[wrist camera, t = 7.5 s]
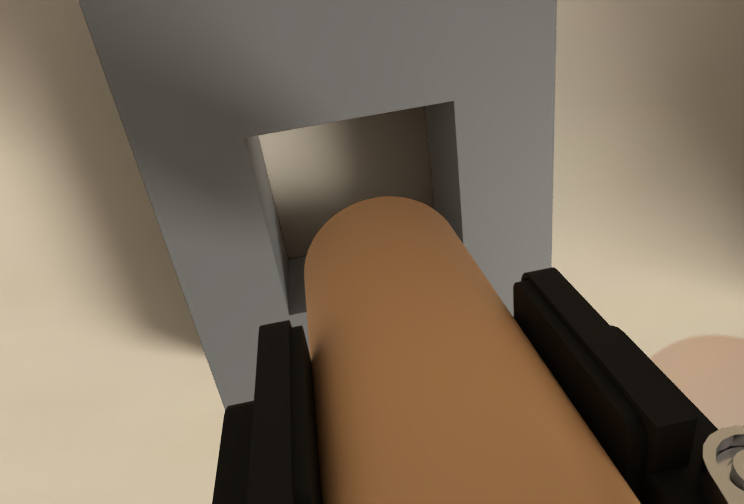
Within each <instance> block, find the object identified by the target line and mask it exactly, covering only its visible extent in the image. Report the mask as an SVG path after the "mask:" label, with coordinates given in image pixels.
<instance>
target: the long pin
mask: <svg viewBox="0 0 744 504" xmlns="http://www.w3.org/2000/svg"><path fill="white" fill-rule="evenodd" d="M304 281H305V295H306V309H307V323H308V337H309V351H310V358H311V362H312V374H313V387H314V401H315V414H316V427H317V440H318V454H319V467H320V480H321V494H322V504H641V503H640V502H639V500H638V499H637V497H636V496H635V494H634V493H633V491H632V490H631V488H630V487H629V485H628V484H627V483H626V481H625V480H624V478H623V477H622V475H621V474H620V472H619V471H618V469H617V468H616V466H615V465H614V464H613V462H612V461H611V459H610V458H609V456H608V455H607V453H606V452H605V450H604V449H603V448H602V446H601V445H600V443H599V442H598V440H597V439H596V437H595V436H594V434H593V433H592V431H591V430H590V429H589V427H588V426H587V424H586V423H585V421H584V420H583V418H582V417H581V415H580V414H579V412H578V411H577V410H576V408H575V407H574V405H573V404H572V402H571V401H570V399H569V398H568V396H567V395H566V393H565V392H564V391H563V389H562V388H561V386H560V385H559V383H558V382H557V380H556V379H555V377H554V376H553V374H552V373H551V372H550V370H549V369H548V367H547V366H546V364H545V363H544V361H543V360H542V358H541V357H540V355H539V354H538V353H537V351H536V350H535V348H534V347H533V345H532V344H531V342H530V341H529V339H528V338H527V337H526V335H525V334H524V332H523V331H522V329H521V328H520V326H519V325H518V323H517V322H516V320H515V319H514V318H513V316H512V315H511V313H510V312H509V310H508V309H507V307H506V306H505V304H504V303H503V301H502V300H501V299H500V297H499V296H498V294H497V293H496V291H495V290H494V288H493V287H492V285H491V284H490V282H489V281H488V280H487V278H486V277H485V275H484V274H483V272H482V271H481V269H480V268H479V266H478V265H477V263H476V262H475V261H474V259H473V258H472V256H471V255H470V253H469V252H468V250H467V249H466V247H465V246H464V245H463V243H462V242H461V240H460V239H459V237H458V236H457V234H456V233H455V231H454V230H453V228H452V227H451V226H450V224H449V223H448V221H447V220H446V219H445V218H444V217H443V216H442V215H441V214H439V213H438V212H437V211H436V210H434V209H433V208H431V207H429V206H428V205H426V204H424V203H421V202H419V201H416V200H413V199H409V198H404V197H397V196H383V197H375V198H370V199H366V200H362V201H360V202H357V203H355V204H352V205H350V206H348V207H346V208H344V209H343V210H341V211H340V212H338V213H337V214H335V215H334V216H333V217H332V218H331V219H329V220H328V221H327V222H326V223H325V224H324V225H323V227H322V228H321V229H320V230H319V231H318V233H317V234H316V236H315V237H314V239H313V241H312V243H311V245H310V247H309V249H308V253H307V256H306V260H305V266H304Z"/></svg>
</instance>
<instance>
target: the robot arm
mask: <svg viewBox="0 0 744 504" xmlns="http://www.w3.org/2000/svg"><path fill="white" fill-rule="evenodd" d="M513 310H514V319H515V320H516V322H517V323H518V325H519V326H520V328H521V329H522V331H523V332H524V334H525V335H526V337H527V338H528V339H529V341H530V342H531V344H532V345H533V347H534V348H535V350H536V351H537V353H538V354H539V355H540V357H541V358H542V360H543V361H544V363H545V364H546V366H547V367H548V369H549V370H550V372H551V373H552V374H553V376H554V377H555V379H556V380H557V382H558V383H559V385H560V386H561V388H562V389H563V391H564V392H565V393H566V395H567V396H568V398H569V399H570V401H571V402H572V404H573V405H574V407H575V408H576V410H577V411H578V412H579V414H580V415H581V417H582V418H583V420H584V421H585V423H586V424H587V426H588V427H589V429H590V430H591V431H592V433H593V434H594V436H595V437H596V439H597V440H598V442H599V443H600V445H601V446H602V448H603V449H604V450H605V452H606V453H607V455H608V456H609V458H610V459H611V461H612V462H613V464H614V465H615V466H616V468H617V469H618V471H619V472H620V474H621V475H622V477H623V478H624V480H625V481H626V483H627V484H628V485H629V487H630V488H631V490H632V491H633V493H634V494H635V496H636V497H637V499H638V500H639V502H640V503H641V504H744V426H731V427H726V428H721V429H719V430H718V429H717V428H716V427H715V426H714V425H713V424H712V423H711V422H710V421H709V419H708V418H707V417H706V416H705V415H704V414H703V413H702V412H701V411H700V410H699V409H698V408H697V407H696V406H695V405H694V404H693V403H692V402H691V401H690V400H689V399H688V398H687V397H686V396H685V395H684V394H683V393H682V392H681V391H680V390H679V389H678V388H677V386H676V385H675V384H674V383H672V381H671V380H670V379H669V378H668V377H667V376H666V375H665V374H664V373H663V372H662V371H661V370H660V369H659V368H658V367H657V366H656V365H655V364H654V363H653V362H652V361H651V360H650V359H649V358H648V357H647V355H646V354H645V353H644V352H643V351H642V350H641V349H640V348H639V347H638V346H637V345H636V344H635V343H634V342H633V341H632V340H631V339H630V338H629V337H628V336H627V335H626V334H625V333H624V332H623V331H622V330H621V329H619V328H618V327H615V326H610V325H609V324H608V323H607V322H606V321H605V320H604V319H603V318H602V317H601V316H600V315H599V313H598V312H597V311H596V310H595V309H594V308H593V307H592V306H591V305H590V304H589V303H588V302H587V301H586V300H585V299H584V298H583V297H582V296H581V294H580V293H579V292H578V291H577V290H576V289H575V288H574V287H573V286H572V285H571V284H570V283H569V282H568V281H567V280H566V279H565V278H564V277H563V275H562V274H561V273H560V272H559V271H558V270H557V269H555V268H552V267H551V268H546V269H541V270H536V271H531V272H526V273H524V274H523V275H522V278H521V281H520V282H515V283H514V286H513ZM212 504H322V494H321V480H320V467H319V454H318V440H317V427H316V414H315V401H314V387H313V374H312V362H311V358H310V354H309V349H308V345H307V341H306V337H305V333H304V329H303V326H302V325H301V326H296V327H292V325H291V322H290V320H286V321H281V322H276V323H271V324H266V325H261V326H259V334H258V349H257V363H256V378H255V392H254V401H249V402H244V403H240V404H235V405H230V406H228V407H227V408H226V410H225V414H224V420H223V428H222V435H221V443H220V450H219V457H218V465H217V472H216V480H215V487H214V494H213V502H212Z"/></svg>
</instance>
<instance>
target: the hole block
mask: <svg viewBox="0 0 744 504" xmlns="http://www.w3.org/2000/svg"><path fill="white" fill-rule="evenodd" d="M79 3H80V6H81V9H82V12H83V14H84V17H85V20H86V23H87V26H88V28H89V31H90V34H91V37H92V40H93V42H94V45H95V48H96V51H97V54H98V56H99V59H100V62H101V65H102V67H103V70H104V73H105V76H106V79H107V81H108V84H109V87H110V90H111V93H112V95H113V98H114V101H115V104H116V107H117V109H118V112H119V115H120V118H121V121H122V123H123V126H124V129H125V132H126V135H127V137H128V140H129V143H130V146H131V148H132V151H133V154H134V157H135V160H136V162H137V165H138V168H139V171H140V174H141V176H142V179H143V182H144V185H145V188H146V190H147V193H148V196H149V199H150V202H151V204H152V207H153V210H154V213H155V215H156V218H157V221H158V224H159V227H160V229H161V232H162V235H163V238H164V241H165V243H166V246H167V249H168V252H169V255H170V257H171V260H172V263H173V266H174V269H175V271H176V274H177V277H178V280H179V282H180V285H181V288H182V291H183V294H184V296H185V299H186V302H187V305H188V308H189V310H190V313H191V316H192V319H193V322H194V324H195V327H196V330H197V333H198V336H199V338H200V341H201V344H202V347H203V350H204V352H205V355H206V358H207V361H208V363H209V366H210V369H211V372H212V375H213V377H214V380H215V383H216V386H217V389H218V391H219V394H220V397H221V400H222V403H223V405H224V408H225V410H226V408H227V407H228V406H230V405H235V404H240V403H244V402H249V401H254V392H255V378H256V363H257V349H258V334H259V326H261V325H266V324H271V323H276V322H281V321H286V320H290V322H291V325H292V327H296V326H301V325H302V326H303V329H304V333H305V337H306V341H307V345H308V349H309V337H308V323H307V309H306V295H305V281H304V266H305V260H306V256H304V257H299V258H294V259H289V260H288V257H287V253H286V249H285V245H284V240H283V236H282V232H281V228H280V224H279V220H278V216H277V211H276V207H275V203H274V199H273V195H272V191H271V187H270V183H269V178H268V174H267V170H266V166H265V162H264V158H263V154H262V149H261V145H260V141H259V137H258V135H262V134H268V133H274V132H279V131H285V130H291V129H297V128H302V127H308V126H314V125H319V124H325V123H331V122H336V121H342V120H348V119H353V118H359V117H365V116H370V115H376V114H382V113H387V112H393V111H399V110H404V109H410V108H416V107H422V106H424V107H425V117H426V128H427V139H428V150H429V161H430V172H431V183H432V193H433V204H434V210H436V211H437V212H438V213H439V214H441V215H442V216H443V217H444V218H445V219H446V220H447V221H448V223H449V224H450V226H451V227H452V228H453V230H454V231H455V233H456V234H457V236H458V237H459V239H460V240H461V242H462V243H463V245H464V246H465V247H466V249H467V250H468V252H469V253H470V255H471V256H472V258H473V259H474V261H475V262H476V263H477V265H478V266H479V268H480V269H481V271H482V272H483V274H484V275H485V277H486V278H487V280H488V281H489V282H490V284H491V285H492V287H493V288H494V290H495V291H496V293H497V294H498V296H499V297H500V299H501V300H502V301H503V303H504V304H505V306H506V307H507V309H508V310H509V312H510V313H511V315H512V316H513V318H514V310H513V286H514V283H515V282H520V281H521V278H522V275H523V274H524V273H526V272H531V271H536V270H541V269H546V268H551V254H552V204H553V155H554V105H555V55H556V5H557V0H79ZM309 354H310V351H309Z"/></svg>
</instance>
